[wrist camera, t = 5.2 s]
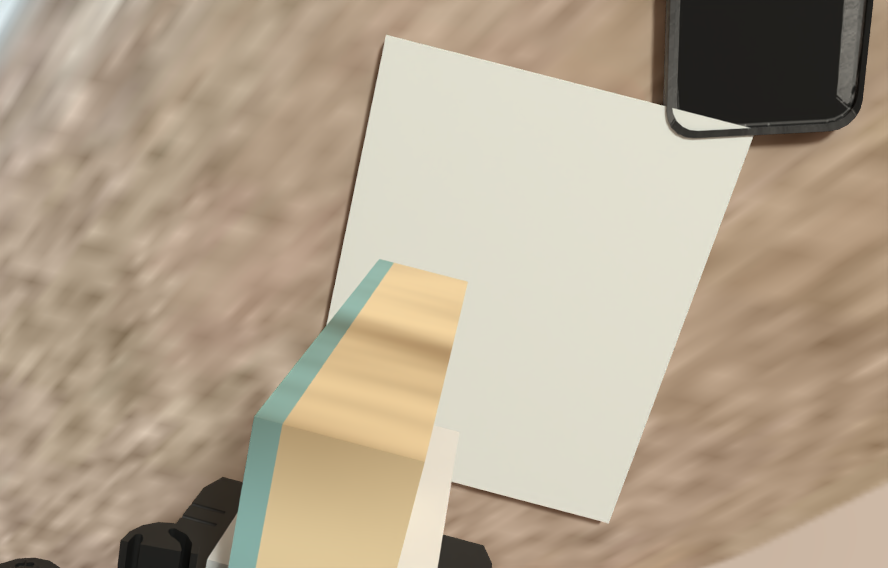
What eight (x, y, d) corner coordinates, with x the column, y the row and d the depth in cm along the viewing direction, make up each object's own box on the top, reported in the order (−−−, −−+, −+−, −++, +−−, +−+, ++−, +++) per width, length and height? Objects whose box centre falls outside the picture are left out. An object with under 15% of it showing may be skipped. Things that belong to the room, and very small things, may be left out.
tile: (379, 258, 18) (253, 416, 9) (468, 281, 18) (424, 461, 9) (312, 567, 21) (169, 905, 12) (388, 587, 21) (299, 942, 12)
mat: (305, 436, 35) (302, 442, 35) (388, 35, 29) (386, 34, 29) (606, 515, 35) (608, 523, 34) (751, 128, 29) (756, 129, 29)
